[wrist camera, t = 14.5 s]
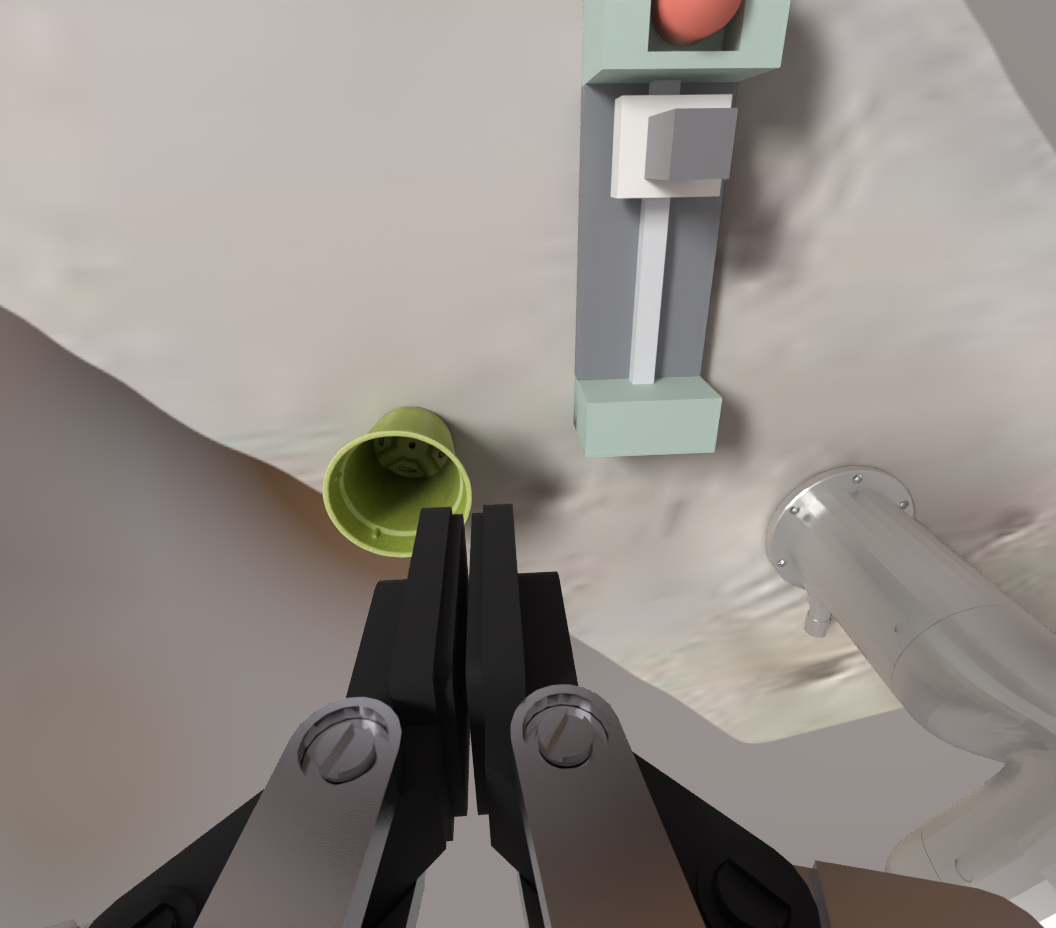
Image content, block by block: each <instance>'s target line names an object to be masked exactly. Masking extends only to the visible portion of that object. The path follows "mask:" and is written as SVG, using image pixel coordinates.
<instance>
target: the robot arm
mask: <svg viewBox="0 0 1056 928" xmlns="http://www.w3.org/2000/svg"><path fill="white" fill-rule="evenodd" d="M765 545H766V552H767V556H768V558H769V561H770V563H771V564H772V566H773V567H774V569H775V570H776V572H777V573H778V574H779V575H780V576H781V577H782V578H783V579H784V580H785V581H787V582H788V583H790V584H792V585H793V586H796V587H799V588H802V589H805V590H806V591H807V592H808V594H809V596H808V599H807V600H808V603H809V604H810V605H811V606H810V609H809V611H808V612H807V616H806V620H805V623H804V630H805V631H806V632H807V633H808V634H809V635H811V636H814V637H824V636H825V635H826V633H827V630H828V626H829V623H830V620H831V618H830V616H831V614H832V615H833V616H834V618H835V619H836V620H837V622H838V623H839V624H840V625H841V627H842V628H843V629H844V631H845V632H846V633H847V634H848V636H849V637H850V638H851V640H852V641H853V642H854V644H855V645H856V646H857V647H858V649H859V650H860V651H861V653H862V654H863V655H864V656H865V658H866V659H867V660H868V662H869V663H870V664H871V666H872V667H873V668H874V669H875V671H876V672H877V673H878V675H879V676H880V677H881V678H882V680H883V681H884V682H885V684H886V685H887V686H888V688H889V689H890V690H891V691H892V693H893V694H894V695H895V697H896V698H897V699H898V700H899V701H900V703H901V704H902V705H903V706H904V708H905V709H906V710H907V711H908V713H909V714H910V715H911V716H912V717H913V718H914V720H915V721H917V722H918V723H919V724H920V725H921V726H922V727H923V728H924V729H926V730H927V731H928V732H930V733H931V734H933V735H934V736H936V737H937V738H939V739H941V740H943V741H945V742H947V743H949V744H951V745H953V746H955V747H957V748H960V749H962V750H965V751H968V752H971V753H974V754H977V755H979V756H983V757H986V758H990V759H993V760H996V761H999V762H1003V763H1005V766H1004V767H1003V768H1002V770H1001V771H1000V772H998V773H997V774H996V775H994V776H993V777H992V778H990V779H989V780H988V781H986V782H985V783H984V785H983V786H981V787H980V788H978V789H977V790H975V791H974V792H972V793H971V794H969V795H967V796H966V797H964V798H963V799H961V800H960V801H958V802H957V803H955V804H954V805H952V806H950V807H949V808H947V809H946V810H944V811H943V812H941V813H940V814H938V815H937V816H935V817H934V818H932V819H931V820H929V821H927V822H926V823H924V824H923V825H922V826H920V827H919V828H917V829H916V830H914V831H913V832H911V833H910V834H909V835H907V836H906V837H905V838H904V839H902V840H901V841H900V842H899V843H898V844H897V845H896V846H895V847H894V848H893V850H892V851H891V852H890V854H889V856H888V858H887V861H886V865H885V872H880V871H874V870H869V869H863V868H856V867H851V866H845V865H840V864H834V863H828V862H822V861H815V862H814V865H813V868H808V867H802V866H796V865H792V864H791V863H789V862H788V861H787V860H786V859H785V858H784V857H783V856H781V855H780V854H779V853H778V852H777V851H776V850H775V849H773V848H772V847H770V846H769V845H767V844H766V843H764V842H763V841H762V840H760V839H759V838H757V837H756V836H754V835H753V834H751V833H750V832H749V831H747V830H746V829H744V828H743V827H741V826H740V825H738V824H737V823H735V822H734V821H732V820H731V819H730V818H728V817H727V816H725V815H724V814H722V813H721V812H719V811H718V810H716V809H715V808H714V807H712V806H710V805H709V804H708V803H706V802H705V801H703V800H702V799H701V798H699V797H698V796H696V795H695V794H693V793H692V792H690V791H689V790H687V789H686V788H684V787H683V786H682V785H680V784H679V783H677V782H676V781H674V780H673V779H671V778H670V777H669V776H667V775H666V774H664V773H663V772H661V771H660V770H658V769H657V768H655V767H654V766H653V765H651V764H650V763H648V762H647V761H645V760H644V759H642V758H641V757H639V756H638V755H637V754H635V753H634V752H632V750H631V747H630V745H629V743H628V740H627V738H626V735H625V733H624V731H623V728H622V726H621V723H620V721H619V719H618V717H617V715H616V714H615V712H614V710H613V709H612V707H611V706H610V704H609V703H607V702H606V701H605V700H604V699H603V698H602V697H601V696H599V695H598V694H596V693H594V692H592V691H590V690H588V689H586V688H584V687H579V686H578V682H577V676H576V670H575V665H574V659H573V654H572V648H571V642H570V636H569V631H568V625H567V619H566V614H565V608H564V603H563V597H562V591H561V586H560V580H559V575H558V572H537V573H518V572H517V559H516V546H515V533H514V520H513V507H512V504H495V505H483V513H472V524H471V548H470V571H469V579H468V566H467V553H466V540H465V528H464V517H463V514H453V513H452V508H451V507H430V508H421V511H420V516H419V521H418V526H417V531H416V536H415V541H414V547H413V552H412V557H411V562H410V568H409V573H408V578H407V579H403V580H384V581H379V582H378V583H377V585H376V587H375V591H374V594H373V598H372V602H371V606H370V609H369V613H368V617H367V621H366V624H365V628H364V632H363V636H362V639H361V643H360V647H359V651H358V654H357V658H356V662H355V666H354V669H353V673H352V677H351V681H350V685H349V688H348V692H347V696H346V698H345V699H342V700H339V701H335V702H332V703H329V704H328V705H326V706H324V707H322V708H320V709H319V710H317V711H315V712H314V713H313V714H311V715H310V716H309V717H308V718H307V719H306V720H305V721H303V722H302V723H301V724H300V725H299V727H298V728H297V730H296V731H295V732H294V734H293V735H292V737H291V738H290V740H289V742H288V744H287V746H286V748H285V750H284V752H283V753H282V755H281V757H280V759H279V762H278V763H277V765H276V767H275V769H274V771H273V773H272V775H271V777H270V779H269V781H268V783H267V785H266V787H265V789H263V790H262V791H261V792H259V793H258V794H257V795H256V796H254V797H253V798H252V799H250V800H249V801H248V802H246V803H245V804H243V805H242V806H241V807H239V808H238V809H237V810H236V811H234V812H233V813H232V814H230V815H229V816H228V817H226V818H225V819H224V820H222V821H221V822H220V823H218V824H217V825H216V826H214V827H213V828H212V829H210V830H209V831H208V832H206V833H205V834H204V835H202V836H201V837H200V838H198V839H197V840H196V841H195V842H193V843H192V844H191V845H189V846H188V847H187V848H185V849H184V850H183V851H181V852H180V853H179V854H178V855H176V856H175V857H173V858H172V859H171V860H170V861H168V862H167V863H165V864H164V865H163V866H161V867H160V868H159V869H158V870H156V871H155V872H153V873H152V874H151V875H150V876H148V877H147V878H146V879H144V880H143V881H142V882H140V883H139V884H138V885H136V886H135V887H134V888H132V889H131V890H130V891H128V892H127V893H126V894H124V895H123V896H122V897H120V898H119V899H118V900H116V901H115V902H114V903H113V904H112V905H111V906H110V907H109V908H107V909H106V910H105V911H104V912H103V913H102V914H101V915H100V916H99V917H98V918H97V919H95V920H94V921H93V923H90V924H86V925H83V926H80V927H79V926H78V925H77V923H76V922H75V921H74V919H72V920H69V921H65V922H62V923H59V924H56V925H52V926H49V927H46V928H416V924H417V919H418V915H419V910H420V905H421V901H422V896H423V892H424V886H425V874H426V869H427V868H428V867H429V866H430V865H431V864H432V863H433V862H434V861H435V860H436V859H437V858H438V857H439V856H440V855H441V854H442V852H443V851H444V850H445V849H446V841H453V832H454V831H453V830H454V817H458V816H467V809H468V779H469V745H470V733H471V745H472V756H473V766H474V778H475V789H476V799H477V811H478V815H485V814H489V823H490V837H491V846H492V847H493V848H494V849H495V850H496V851H497V852H498V853H499V854H501V855H502V856H503V857H504V858H505V859H506V860H507V861H508V862H509V863H510V864H511V865H512V866H513V867H514V868H515V869H516V870H517V882H518V887H519V893H520V899H521V904H522V910H523V915H524V921H525V926H526V928H1056V635H1055V634H1053V633H1052V632H1051V631H1050V630H1049V629H1047V628H1046V627H1045V626H1044V625H1042V624H1041V623H1040V622H1039V621H1038V620H1036V619H1035V618H1034V617H1033V616H1031V615H1030V614H1029V613H1028V612H1027V611H1025V610H1024V609H1023V608H1022V607H1020V606H1019V605H1018V604H1017V603H1016V602H1014V601H1013V600H1012V599H1011V598H1010V597H1008V596H1007V595H1006V594H1005V593H1003V592H1002V591H1001V590H1000V589H999V588H997V587H996V586H995V585H994V584H992V583H991V582H990V581H989V580H988V579H986V578H985V577H984V576H983V575H982V574H980V573H979V572H978V571H977V570H975V569H974V568H973V567H972V566H971V565H969V564H968V563H967V562H966V561H964V560H963V559H962V558H961V557H960V556H958V555H957V554H956V553H955V552H954V551H952V550H951V549H950V548H949V547H947V546H946V545H945V544H944V543H943V542H941V541H940V540H939V539H938V538H936V537H935V536H934V535H933V534H932V533H930V532H929V531H928V530H927V529H926V528H924V527H923V526H922V525H921V524H919V523H918V522H917V521H916V520H915V519H914V506H913V502H912V498H911V496H910V494H909V493H908V491H907V489H906V488H905V487H904V486H903V485H902V484H901V483H900V482H899V481H898V480H897V479H895V478H894V477H893V476H891V475H890V474H888V473H886V472H884V471H882V470H879V469H877V468H872V467H867V466H847V467H841V468H836V469H832V470H829V471H826V472H823V473H821V474H819V475H817V476H815V477H813V478H811V479H809V480H807V481H806V482H804V483H803V484H801V485H800V486H799V487H797V488H796V489H795V490H794V491H793V492H791V493H790V494H789V495H788V496H787V497H786V498H785V499H784V500H783V502H782V503H781V504H780V506H779V507H778V508H777V509H776V511H775V513H774V515H773V517H772V518H771V520H770V523H769V526H768V529H767V532H766V542H765Z"/></svg>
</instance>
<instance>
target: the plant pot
mask: <svg viewBox="0 0 1056 928" xmlns="http://www.w3.org/2000/svg"><path fill="white" fill-rule="evenodd" d="M380 437H384V441H383V445H381V444H380V443H379V439H380ZM411 442H413V443H415V448H410V447H409V444H410V443H411ZM440 451H442V452H444V453H445V454H444V455H443V457H441V458H440V457H439V454H440ZM399 466H403V467H406V468H409V469H413V470H416V471H415V472H405V471H402V470H401V469H399ZM323 499H324V503H325V507H326V510H327V512H328V514H329V516H330V518H331V520H332V522H333V523H334V524H335V526H336V527H337V528H338V530H339V531H340V532H341V533H342V534H343V535H344V536H345V537H347V538H348V539H349V540H350V541H352V542H353V543H355V544H356V545H358V546H359V547H361V548H363V549H366V550H368V551H371V552H373V553H376V554H379V555H384V556H392V557H411V556H412V552H413V547H414V541H415V536H416V531H417V526H418V521H419V516H420V511H421V508H430V507H451V508H452V513H453V514H463V517H464V525H465V523H466V521H467V519H468V516H469V513H470V510H471V504H472V489H471V484H470V480H469V477H468V474H467V472H466V470H465V468H464V466H463V464H462V463H461V461H460V460H459V459H458V458H457V456H456V454H455V450H454V445H453V440H452V436H451V433H450V431H449V429H448V428H447V426H446V425H445V423H444V422H443V421H442V420H441V418H439V417H438V416H437V415H436V414H434V413H433V412H431V411H429V410H426V409H423V408H419V407H402V408H398V409H396V410H393V411H391V412H389V413H388V414H386V415H385V416H384V417H382V418H381V419H380V420H379V422H378V423H377V424H376V425H375V426H374V427H373V428H372V430H371V431H370V432H369V433H367V434H365V435H362V436H360V437H358V438H356V439H354V440H352V441H350V442H349V443H348V444H346V445H345V446H344V447H343V448H341V449H340V450H339V451H338V453H337V454H336V455H335V456H334V458H333V459H332V460H331V462H330V464H329V466H328V468H327V471H326V473H325V477H324V482H323Z"/></svg>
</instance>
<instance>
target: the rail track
mask: <svg viewBox="0 0 1056 928" xmlns="http://www.w3.org/2000/svg"><path fill="white" fill-rule="evenodd" d="M651 1H652V0H584V9H583V52H582V94H581V137H580V179H579V222H578V265H577V307H576V350H575V392H574V425H575V428H576V431H577V434H578V437H579V440H580V443H581V446H582V449H583V452H584V455H585V458H593V457H617V456H640V455H664V454H688V453H711V452H715V445H716V438H717V432H718V425H719V418H720V411H721V405H722V397H721V396H720V395H719V394H718V393H717V392H716V391H715V390H714V389H713V388H712V387H711V386H710V385H709V384H708V383H707V382H705V381H704V380H703V379H702V378H701V377H700V373H701V365H702V357H703V349H704V342H705V334H706V326H707V318H708V310H709V303H710V295H711V287H712V279H713V271H714V264H715V256H716V248H717V240H718V232H719V225H720V217H721V209H722V201H723V193H724V185H725V179H722V181H721V189H720V196H712V197H662V198H613V197H611V176H612V155H613V133H614V111H615V99H617V98H619V97H621V96H625V95H718V94H732V101H731V108H734V107H735V100H736V92H737V84H738V82H740V81H743V80H746V79H749V78H752V77H755V76H757V75H760V74H763V73H766V72H769V71H772V70H775V69H778V68H780V66H781V60H782V53H783V47H784V40H785V34H786V27H787V21H788V15H789V8H790V2H791V0H742V1H741V3H740V6H739V8H738V10H737V11H736V13H735V14H734V16H733V17H732V18H731V20H730V21H729V22H728V23H727V24H726V25H725V26H723V27H722V28H721V29H719V30H717V31H716V32H714V33H712V34H711V35H709V36H707V37H706V38H704V39H702V40H701V41H699V42H697V43H695V44H693V45H690V46H683V47H682V46H675V45H672V44H670V43H668V42H667V41H665V40H664V39H663V38H662V37H661V36H660V34H659V33H658V31H657V30H656V28H655V25H654V22H653V19H652V13H651Z"/></svg>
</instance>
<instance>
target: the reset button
mask: <svg viewBox="0 0 1056 928" xmlns="http://www.w3.org/2000/svg"><path fill="white" fill-rule="evenodd" d="M741 1H742V0H652V1H651V13H652V19H653V22H654V25H655V28H656V30H657V31H658V33H659V34H660V36H661V37H662V38H663V39H664V40H665V41H667V42H668V43H670V44H672V45H675V46H682V47H683V46H690V45H693V44H695V43H697V42H699V41H701V40H702V39H704V38H706V37H707V36H709V35H711V34H712V33H714V32H716V31H717V30H719V29H721V28H722V27H723V26H725V25H726V24H727V23H728V22H729V21H730V20H731V18H732V17H733V16H734V14H735V13H736V11H737V10H738V8H739V6H740V3H741Z"/></svg>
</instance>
